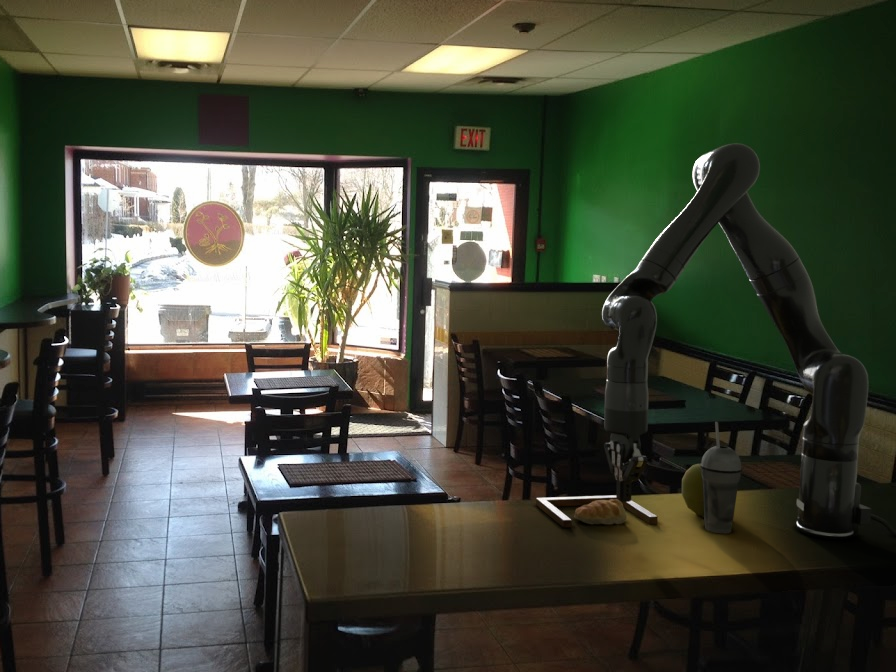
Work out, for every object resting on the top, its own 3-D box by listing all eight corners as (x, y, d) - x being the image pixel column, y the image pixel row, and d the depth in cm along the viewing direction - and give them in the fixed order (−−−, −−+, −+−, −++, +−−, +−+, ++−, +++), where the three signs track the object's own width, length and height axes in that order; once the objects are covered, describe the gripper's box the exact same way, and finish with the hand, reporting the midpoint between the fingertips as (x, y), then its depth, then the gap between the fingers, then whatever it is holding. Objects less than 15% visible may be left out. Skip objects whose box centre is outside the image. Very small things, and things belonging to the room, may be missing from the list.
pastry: (585, 527, 164) (586, 507, 163) (566, 517, 170) (567, 497, 170) (629, 523, 167) (630, 503, 166) (609, 513, 173) (610, 494, 173)
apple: (735, 524, 168) (739, 467, 167) (681, 519, 170) (684, 462, 169) (731, 509, 177) (733, 455, 176) (679, 504, 180) (682, 451, 179)
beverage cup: (742, 537, 160) (748, 427, 159) (700, 533, 162) (705, 424, 160) (735, 525, 167) (740, 419, 166) (694, 521, 169) (699, 417, 167)
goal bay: (622, 501, 181) (623, 494, 181) (657, 523, 167) (657, 516, 167) (535, 504, 178) (535, 497, 178) (563, 527, 164) (563, 520, 164)
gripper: (664, 411, 154) (660, 510, 155) (629, 398, 167) (626, 490, 168) (623, 413, 152) (620, 512, 154) (591, 399, 165) (589, 491, 167)
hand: (623, 500), depth 161 cm, fingers closed
